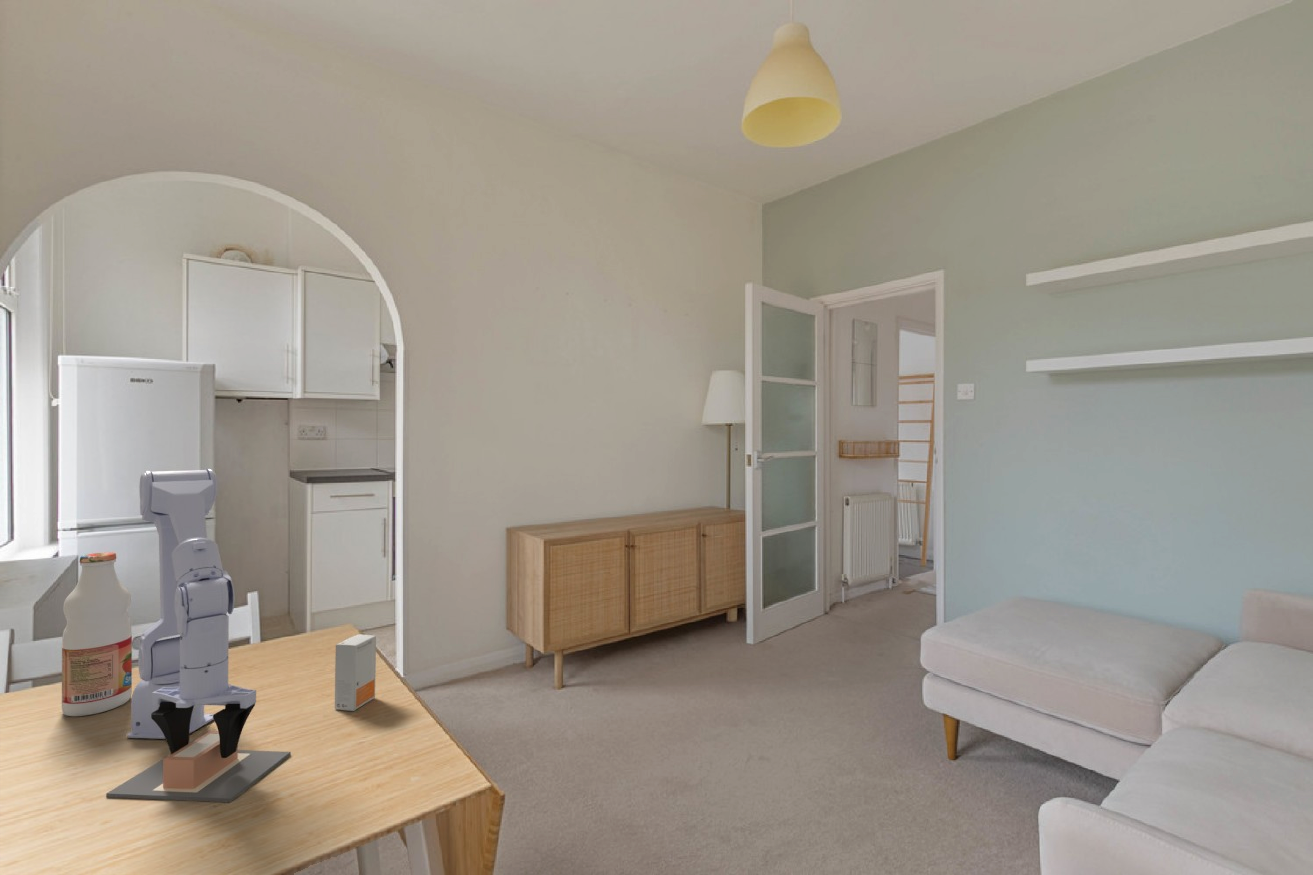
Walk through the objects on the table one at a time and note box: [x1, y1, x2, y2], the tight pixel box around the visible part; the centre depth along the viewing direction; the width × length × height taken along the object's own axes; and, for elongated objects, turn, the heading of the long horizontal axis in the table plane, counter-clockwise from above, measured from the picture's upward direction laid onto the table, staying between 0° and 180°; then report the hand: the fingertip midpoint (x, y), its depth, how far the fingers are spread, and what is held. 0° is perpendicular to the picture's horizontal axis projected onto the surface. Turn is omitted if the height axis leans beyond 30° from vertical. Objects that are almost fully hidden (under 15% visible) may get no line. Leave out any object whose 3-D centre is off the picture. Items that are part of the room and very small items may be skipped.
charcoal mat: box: [105, 749, 292, 803], centre depth 87 cm, size 18×12×1 cm, turn 87°
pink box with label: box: [162, 730, 239, 789], centre depth 87 cm, size 8×4×4 cm, turn 177°
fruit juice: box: [61, 551, 133, 717], centre depth 109 cm, size 9×9×28 cm
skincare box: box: [334, 633, 377, 712], centre depth 110 cm, size 6×4×12 cm
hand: (204, 753), depth 87 cm, fingers open, 7 cm apart
